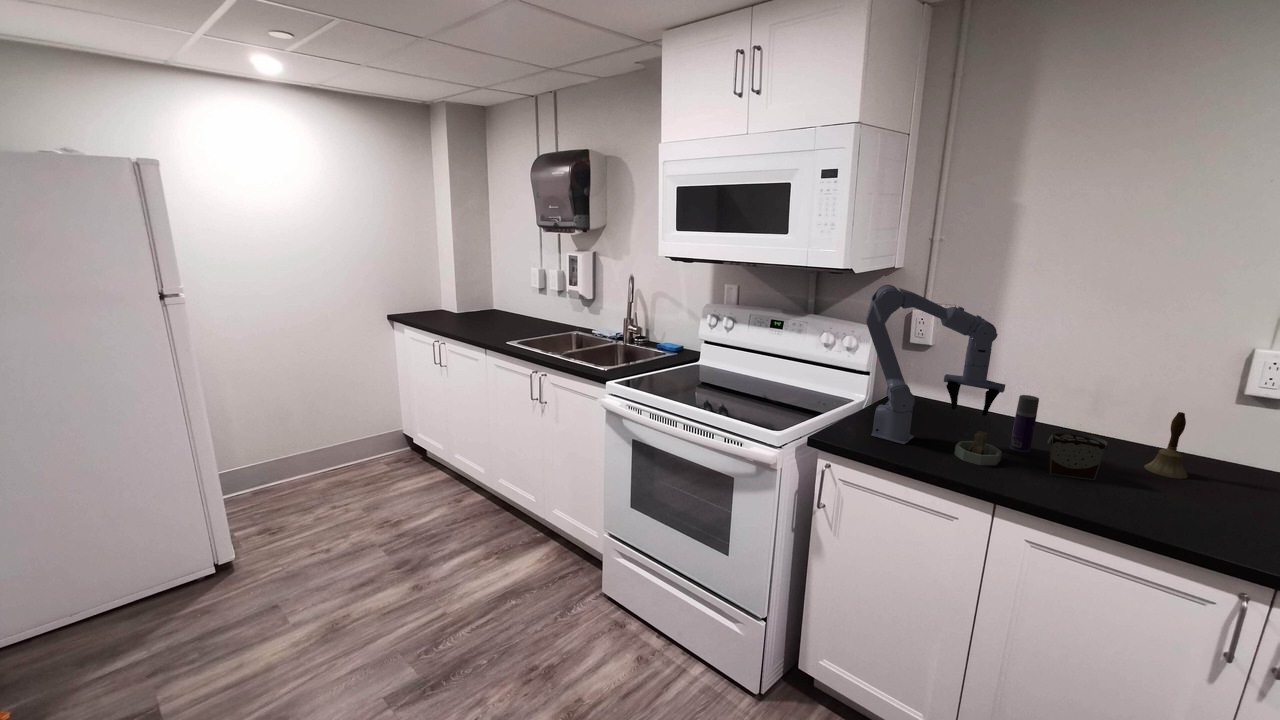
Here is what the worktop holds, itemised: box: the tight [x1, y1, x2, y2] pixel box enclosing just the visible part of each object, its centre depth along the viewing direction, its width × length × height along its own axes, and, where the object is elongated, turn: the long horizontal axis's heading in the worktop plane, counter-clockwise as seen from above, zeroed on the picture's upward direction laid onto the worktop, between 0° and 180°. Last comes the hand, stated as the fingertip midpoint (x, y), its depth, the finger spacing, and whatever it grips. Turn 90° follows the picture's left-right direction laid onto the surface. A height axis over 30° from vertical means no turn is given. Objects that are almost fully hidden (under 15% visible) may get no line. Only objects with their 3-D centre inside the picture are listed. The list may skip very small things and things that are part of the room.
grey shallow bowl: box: [954, 440, 1003, 466], centre depth 153 cm, size 10×10×3 cm
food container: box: [1047, 430, 1110, 481], centre depth 144 cm, size 12×6×10 cm, turn 71°
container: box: [1009, 394, 1040, 453], centre depth 157 cm, size 5×5×15 cm
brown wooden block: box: [972, 430, 988, 455], centre depth 152 cm, size 2×4×6 cm, turn 137°
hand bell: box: [1144, 411, 1189, 480], centre depth 144 cm, size 8×8×16 cm
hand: (969, 411), depth 159 cm, fingers open, 7 cm apart
